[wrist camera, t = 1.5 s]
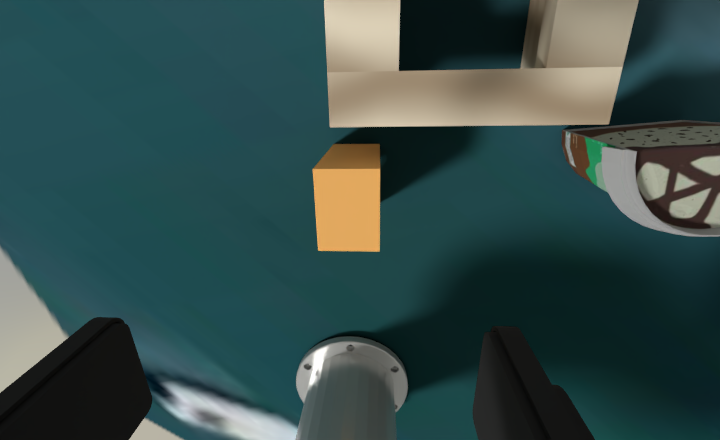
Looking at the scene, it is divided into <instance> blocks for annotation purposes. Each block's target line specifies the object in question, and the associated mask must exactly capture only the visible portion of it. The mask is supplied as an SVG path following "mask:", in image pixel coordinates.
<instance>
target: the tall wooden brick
mask: <svg viewBox="0 0 720 440" xmlns="http://www.w3.org/2000/svg"><path fill="white" fill-rule="evenodd" d="M313 180H314V195H315V210H316V225H317V240H318V251H380V144H333V146H332V147H331V148H330V149H329V150H328V152H327V153H326V154H325V155H324V156H323V158H322V159H321V160H320V161H319V162H318V163H317V165H316V166H315V167H314V168H313Z"/></svg>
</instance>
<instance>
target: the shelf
mask: <svg viewBox="0 0 720 440" xmlns="http://www.w3.org/2000/svg"><path fill="white" fill-rule="evenodd" d="M638 1H639V0H530V5H529V12H528V19H527V26H526V33H525V40H524V47H523V54H522V61H521V68H520V69H479V70H427V71H399V35H400V0H324V9H325V31H326V53H327V75H328V97H329V119H330V127H408V126H508V125H607V124H609V121H610V117H611V113H612V109H613V105H614V101H615V97H616V92H617V88H618V84H619V80H620V76H621V72H622V68H623V63H624V59H625V55H626V51H627V47H628V43H629V39H630V35H631V30H632V26H633V22H634V18H635V14H636V10H637V6H638Z"/></svg>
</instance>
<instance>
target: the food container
mask: <svg viewBox="0 0 720 440" xmlns="http://www.w3.org/2000/svg"><path fill="white" fill-rule="evenodd" d="M562 147H563V150H564V154H565V158H566V161H567V162H568V163H569V165H570V166H571V167H572V169H573V170H574V171H575V172H576V173H577V174H578V175H580V176H582V177H583V178H585V179H586V180H588V181H590V182H591V183H593V184H595V185H596V186H598V187H600V188H601V189H603V190H604V191H606V192H608V193H609V195H610V197H611V199H612V200H613V202H614V203H615V204H616V206H617V207H618V208H619V209H620V210H621V211H622V212H623V213H624V214H625V215H626V216H628V217H629V218H630V219H631V220H633V221H635V222H637V223H639V224H641V225H643V226H646V227H649V228H652V229H655V230H659V231H663V232H668V233H672V234H678V235H684V236H701V237H705V236H720V123H717V122H704V121H691V120H675V121H664V122H652V123H640V124H628V125H617V126H605V127H593V128H581V129H570V130H562Z"/></svg>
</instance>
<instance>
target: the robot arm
mask: <svg viewBox="0 0 720 440" xmlns="http://www.w3.org/2000/svg"><path fill="white" fill-rule="evenodd" d="M296 385H297V390H298V393H299V396H300V398H301V399H302V401H303V403H304V406H303V410H302V414H301V418H300V422H299V427H298V431H297V435H296V439H295V440H397V437H396V417H395V413H396V412H397V411H398V410H399V409H400V407H401V406H402V405H403V403H404V401H405V399H406V396H407V391H408V380H407V374H406V370H405V368H404V366H403V364H402V362H401V360H400V359H399V358H398V357H397V355H396V354H395V353H393V352H392V351H391V350H390V349H389V348H387V347H385V346H384V345H382V344H380V343H378V342H376V341H373V340H370V339H366V338H362V337H352V336H345V337H336V338H332V339H328V340H326V341H323V342H321V343H319V344H317V345H316V346H314V347H313V348H312V349H310V350H309V351H308V352H307V353H306V355H305V356H304V357H303V359H302V361H301V363H300V365H299V368H298V372H297V377H296ZM151 404H152V395H151V392H150V389H149V386H148V383H147V380H146V377H145V374H144V371H143V368H142V365H141V362H140V359H139V356H138V353H137V350H136V347H135V344H134V341H133V338H132V335H131V332H130V329H129V327H128V325H127V324H125V323H124V321H123V320H122V319H121V318H106V317H97V318H93V319H92V320H90V321H89V322H87V323H86V324H85V325H84V326H83V327H81V328H80V329H79V330H78V331H76V332H75V333H74V334H73V335H71V336H70V337H69V338H68V339H66V340H65V341H64V342H63V343H62V344H60V345H59V346H58V347H57V348H55V349H54V350H53V351H52V352H50V353H49V354H48V355H47V356H45V357H44V358H43V359H42V360H40V361H39V362H38V363H37V364H36V365H34V366H33V367H32V368H31V369H29V370H28V371H27V372H26V373H24V374H23V375H22V376H21V377H19V378H18V379H17V380H16V381H15V382H14V383H12V384H11V385H10V386H8V387H7V388H6V389H5V390H4V391H2V392H1V393H0V440H129V439H130V437H131V436H132V434H133V433H134V432H135V430H136V429H137V427H138V426H139V424H140V423H141V421H142V420H143V419H144V417H145V416H146V415H147V413H148V412H149V410H150V407H151ZM473 420H474V425H475V428H476V432H477V435H478V439H479V440H595V439H594V437H593V436H592V434H591V432H590V431H589V429H588V427H587V426H586V424H585V423H584V421H583V419H582V418H581V416H580V414H579V413H578V411H577V409H576V408H575V406H574V405H573V403H572V401H571V400H570V398H569V396H568V395H567V394H566V392H565V391H564V390H563V388H561V387H560V386H559V385H552V384H551V382H550V381H549V379H548V377H547V375H546V374H545V372H544V370H543V369H542V367H541V365H540V363H539V362H538V360H537V358H536V356H535V355H534V353H533V351H532V350H531V348H530V346H529V344H528V343H527V341H526V339H525V338H524V336H523V334H522V332H521V331H520V329H519V328H518V327H507V326H494V327H492V329H491V332H485V334H484V337H483V344H482V351H481V358H480V364H479V371H478V378H477V384H476V391H475V398H474V404H473Z"/></svg>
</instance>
